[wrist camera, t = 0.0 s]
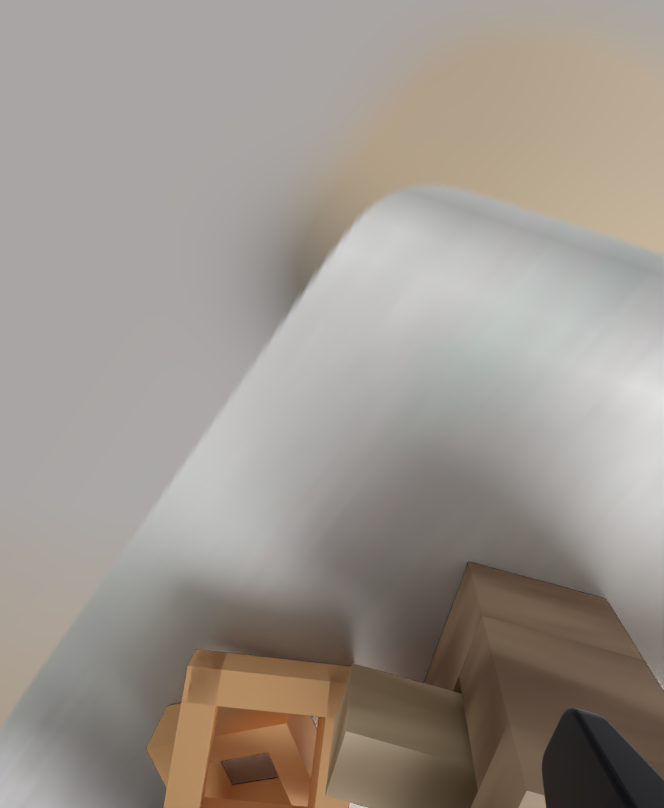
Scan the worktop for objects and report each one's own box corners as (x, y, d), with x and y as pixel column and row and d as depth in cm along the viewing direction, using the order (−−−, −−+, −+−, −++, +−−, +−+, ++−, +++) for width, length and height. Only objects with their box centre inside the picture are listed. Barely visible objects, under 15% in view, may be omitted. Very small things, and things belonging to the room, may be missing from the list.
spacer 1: (362, 685, 22) (340, 883, 21) (354, 667, 25) (334, 844, 23) (187, 665, 22) (153, 868, 20) (196, 649, 24) (166, 830, 23)
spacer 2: (341, 789, 27) (337, 839, 25) (218, 808, 28) (203, 857, 26) (295, 680, 25) (286, 723, 23) (166, 705, 27) (146, 748, 24)
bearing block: (525, 768, 25) (608, 1083, 16) (404, 734, 25) (413, 1024, 16) (606, 598, 22) (768, 858, 13) (468, 561, 23) (526, 790, 13)
